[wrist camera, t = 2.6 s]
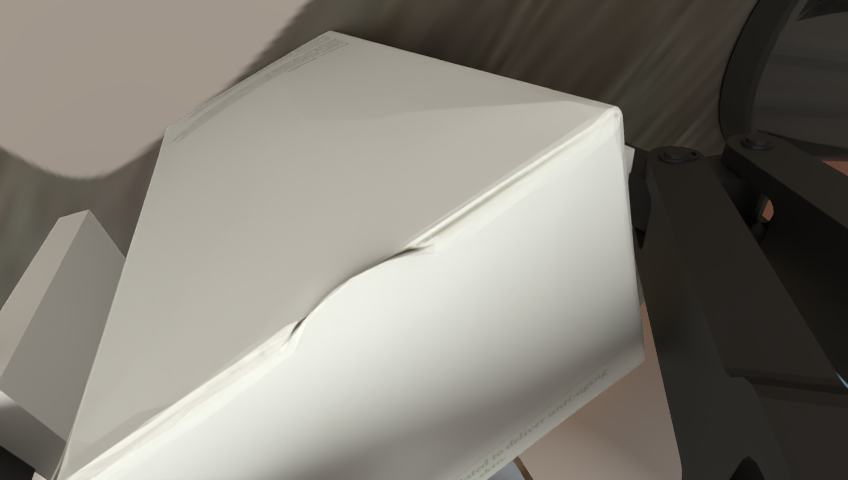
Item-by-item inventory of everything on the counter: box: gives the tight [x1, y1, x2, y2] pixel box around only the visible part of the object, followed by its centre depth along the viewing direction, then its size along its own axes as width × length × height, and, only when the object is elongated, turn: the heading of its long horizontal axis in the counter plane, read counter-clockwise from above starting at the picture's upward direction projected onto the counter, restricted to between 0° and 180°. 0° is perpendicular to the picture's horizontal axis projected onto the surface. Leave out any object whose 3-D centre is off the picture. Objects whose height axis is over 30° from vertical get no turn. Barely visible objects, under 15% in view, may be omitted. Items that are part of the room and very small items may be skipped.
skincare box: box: [51, 30, 645, 480], centre depth 12 cm, size 8×7×16 cm
